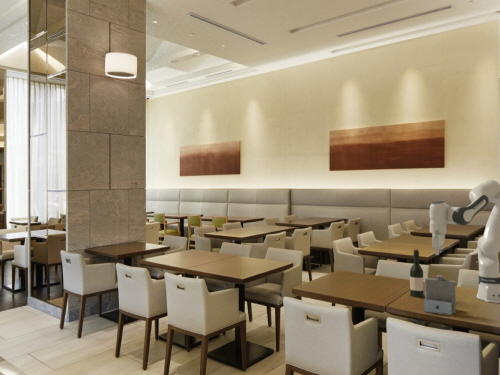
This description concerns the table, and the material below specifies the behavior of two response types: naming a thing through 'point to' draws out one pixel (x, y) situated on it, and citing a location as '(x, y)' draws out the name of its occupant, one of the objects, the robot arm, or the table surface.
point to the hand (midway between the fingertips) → (438, 253)
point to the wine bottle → (416, 277)
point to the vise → (438, 306)
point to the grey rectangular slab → (441, 290)
